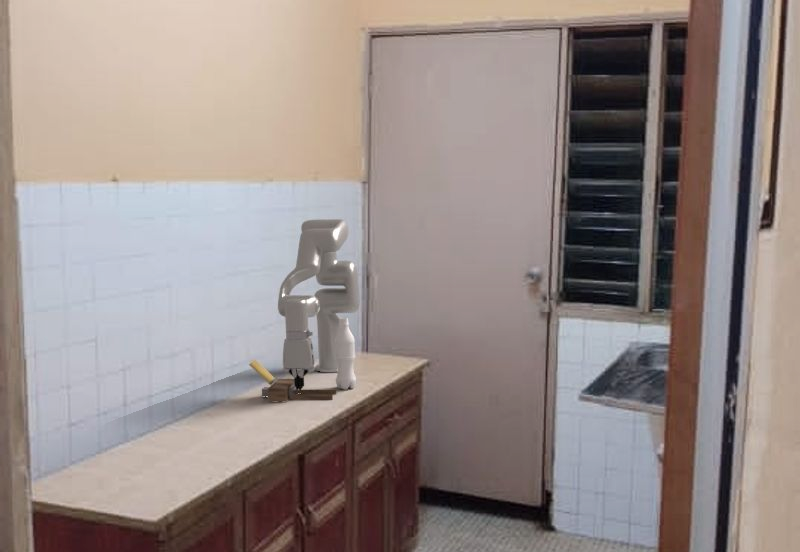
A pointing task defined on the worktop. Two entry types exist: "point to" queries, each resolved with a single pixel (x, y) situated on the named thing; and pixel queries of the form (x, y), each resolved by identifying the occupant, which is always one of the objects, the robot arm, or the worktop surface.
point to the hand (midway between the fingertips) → (299, 388)
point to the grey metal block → (291, 391)
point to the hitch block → (281, 391)
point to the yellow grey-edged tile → (263, 372)
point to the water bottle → (345, 355)
